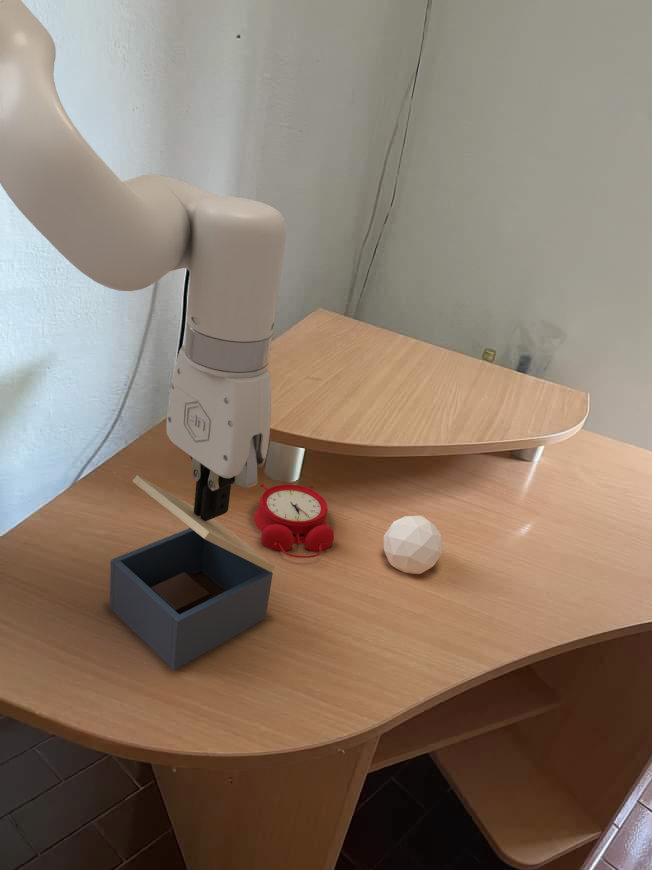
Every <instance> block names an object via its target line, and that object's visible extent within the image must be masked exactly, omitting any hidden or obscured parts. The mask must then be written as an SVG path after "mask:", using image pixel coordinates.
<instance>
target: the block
mask: <svg viewBox="0 0 652 870" xmlns="http://www.w3.org/2000/svg"><path fill="white" fill-rule="evenodd" d="M151 589H152V590H153V591H154V592H155V593H156V594H157V595H158V596H160V597H161V598H162V599H163V600H164V601H165V602H166V603H167V604H168V605H169V606H171V607H172V608H173V609H174V610H175V611H176V612H177V613H178V614H179V615H180V614H182V613H184V612H186V611H188V610H190V609H192V608H194V607H196V606H198V605H200V604H202V603H204V602H206V601H208V600H210V592H209V591H208V590H206V589H205V587H203V586H202V585H201V584H199V582H197V581H196V580H195V579H194V578H192V576H189V575H188V574H186V573H185V572H183V573H181V574H179V575H177V576H175V577H172V578H170V579H168V580H166V581H163V582H161V583H159V584H157V585H155V586H152V587H151Z"/></svg>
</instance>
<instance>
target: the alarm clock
mask: <svg viewBox="0 0 652 870" xmlns="http://www.w3.org/2000/svg"><path fill="white" fill-rule="evenodd" d="M260 487H261V488H263V489H264V492H263V493H262V494H261V496H260V498H259V505H258V508H257V509H256V510H255V512H254V514H253V515H254V516H253V520H254V524H255V526H256V527H257V529H258V530H259V531H260V532H262V533H261V539H260V541H261V544H262V546H263V547H264V548H267V549H271V550H274V551H279V552H280V551H281V552H283V553H284V554H285V555H287V556H289V557H292V558H299V559H309V558H316V557H318V556H320V554H321V553H322V551H324V550H327V549H329V548H330V547H332V545H333V543H334V539H335V532H334V530H333V528H332V527H331V526H329V525H328V521H327V516H328V512H329V511H328V504H327V501H326V500H325V498H324V497H323V496H322V495H320V494H319V493H318V492H317V491H316V490H314V489H313V485H309V487H306V486H302V485H299V484H298V485H297V484H277V485H274V486H271V487H269V488H267V486H265V484H264V483H261V484H260ZM294 535H295V536H294ZM302 544H304V548H305V549H306V550H308V551H310V552H317V553H316V554H315V553H314V554H311V555H296V554H291V553H289V551H290V550H291V548H292V547H293V545H302Z"/></svg>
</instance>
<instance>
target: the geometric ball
mask: <svg viewBox="0 0 652 870" xmlns="http://www.w3.org/2000/svg"><path fill="white" fill-rule="evenodd" d="M442 542H443V541H442V535H441V533H440V531H439V530H438V528H437V527H436V525H435V524H434V523H433V522H431V521H430V520H428V519H427V518H426V517H424V516H423V515H405V516H403V517H400V518H398V519H396V520H394V521H393V522H392V524H391V525H390V526H389V527H388V529H387V530H386V532H385V533H384V535H383V551H384V554H385V556H386V558H387V561H388V562H389V565H390V566H392V567H393V568H395V569H396V570H398V571H400V572H402V573H405V574H411V575H421V574H422V573H425V572H426V571H428V570H430V569H431V568H433V567H434V566H435V564H436V563H437V562H438V560H439V559H440V557H442V554H443V543H442Z"/></svg>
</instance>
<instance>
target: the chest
mask: <svg viewBox="0 0 652 870" xmlns="http://www.w3.org/2000/svg"><path fill="white" fill-rule="evenodd" d="M183 572H185V573H186V574H188V575H189V576H190V577H192V576H193V575H195V574H198V573H200V572H201V573H203V574H204V575H205V576H206V577H207V578H208V579H210V580H211V581H212V582H213V583H214V584H215V585H217V586H218V587H219V588H220V589H222V590H223V592H222V593H220V594H218V595H215V596H213V597H211V598H209V600H208V601H206V602H204V603H202V604H200V605H198V606H196V607H194V608H192V609H190V610H188V611H186V612H184V613H182V614H180V615H179V614H178V613H177V612H176V611H175V610H174V609H173V608H172V607H171V606H169V605H168V604H167V603H166V602H165V601H164V600H163V599H162V598H161V597H160V596H158V595H157V594H156V593H155V592H154V591H153V590H152V589H151V587H152V586H155V585H157V584H159V583H161V582H163V581H166V580H168V579H170V578H172V577H175V576H177V575H179V574H181V573H183ZM109 574H110V578H109V579H110V580H109V581H110V582H109V589H110V590H109V609H110V610H111V612H113V613H114V614H115V615H116V616H117V617H118V618H119V619H120V620H122V622H123V623H125V625H126V626H128V628H129V629H131V631H133V632H134V634H135V635H137V637H139V638H140V639H141V641H142V642H144V643H145V644H146V645H147V646H148V647H149V648H150V649H151V650H152V651H153V652H154V653H155V654H156V655H157V656H158V657H159V658H160V659H161V660H162V661H164V663H165V664H167V666H169V667H170V669H171V670H172V671H176V670H178V669H180V668H181V667H183V666H185V665H186V664H188V663H190V662H191V661H193V660H196V659H197V658H199V657H200V656H202V655H204V654H206V653H208V652H209V651H212V650H213V649H215V648H216V647H218V646H220V645H222V644H223V643H225V642H228V641H229V640H230V639H232V638H234V637H235V636H237V635H239V634H241V633H243V632H244V631H247V630H248V629H250V628H252V627H253V626H255V625H257V624H258V623H260V622H262V621H263V620H265V619H266V618H267V617H266V616H267V611H268V605H269V599H270V593H271V587H272V582H273V581H272V580H273V575H274V573H273V571H272V572H270V571H268V570H266V569H264V568H262V567H260V566H258V565H256V564H254V563H252V562H250V561H248V560H246V559H244V558H242V557H240V556H238V555H235V554H233V553H231V552H229V551H227V550H225V549H223V548H221V547H219V546H217V545H215V544H213V543H211V542H209V541H207V540H205V539H204V538H202V537H201V536H200V535H199V534H197V533H196V532H195V531H194V530H192V529H191V528H190V527H188V528H186V529H183V530H181V531H179V532H176V533H174V534H171V535H169V536H167V537H163V538H162V539H159V540H156V541H154V542H151V543H149V544H145V545H143V546H141V547H139V548H137V549H134V550H131V551H129V552H126V553H123V554H121V555H118V556H117V557H114V558H111V559H110V573H109Z"/></svg>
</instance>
